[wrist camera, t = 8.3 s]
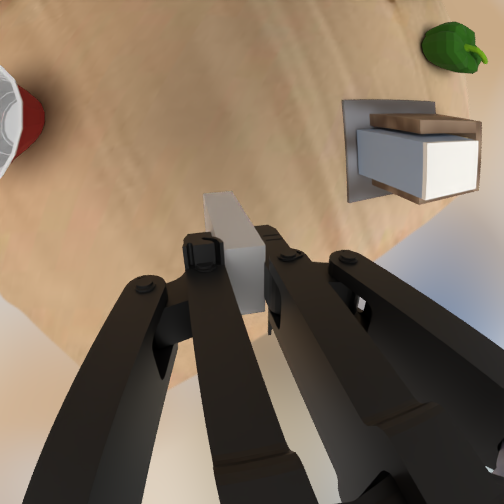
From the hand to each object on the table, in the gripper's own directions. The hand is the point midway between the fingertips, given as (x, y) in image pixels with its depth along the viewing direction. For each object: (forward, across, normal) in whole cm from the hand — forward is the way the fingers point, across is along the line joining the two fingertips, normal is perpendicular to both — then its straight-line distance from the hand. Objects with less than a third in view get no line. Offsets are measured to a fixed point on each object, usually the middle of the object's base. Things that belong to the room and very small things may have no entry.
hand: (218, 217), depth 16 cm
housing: (+22, +28, +1) cm, 36 cm away
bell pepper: (+23, +36, +18) cm, 46 cm away
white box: (+21, +26, 0) cm, 33 cm away
